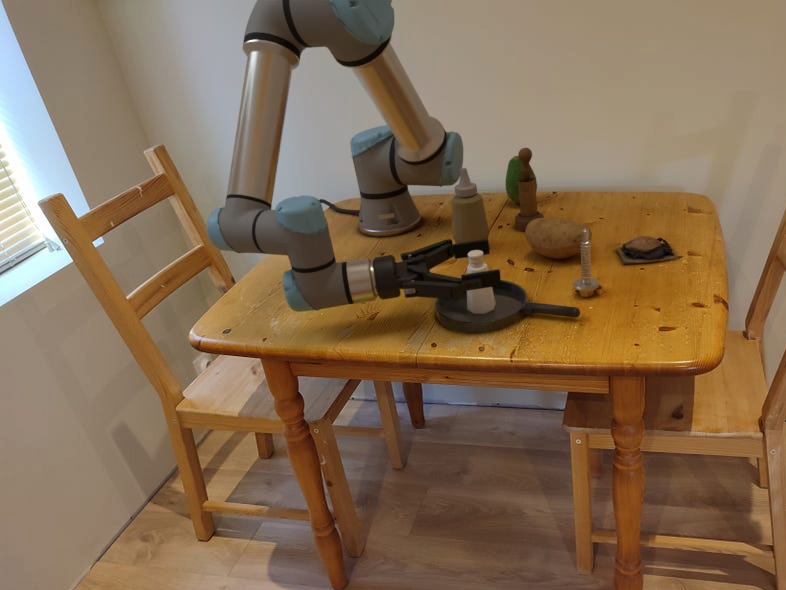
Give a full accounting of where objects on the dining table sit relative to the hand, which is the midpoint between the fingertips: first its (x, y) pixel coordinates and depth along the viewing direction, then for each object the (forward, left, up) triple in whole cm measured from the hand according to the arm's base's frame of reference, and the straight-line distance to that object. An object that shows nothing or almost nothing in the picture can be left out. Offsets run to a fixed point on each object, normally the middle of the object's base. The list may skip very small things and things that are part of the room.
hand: (494, 261), depth 116 cm
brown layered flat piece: (+21, +27, -9) cm, 36 cm away
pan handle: (+11, -2, -9) cm, 14 cm away
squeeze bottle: (-16, +23, -9) cm, 30 cm away
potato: (+4, +23, -9) cm, 25 cm away
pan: (-3, -2, -9) cm, 10 cm away
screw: (+14, +8, -9) cm, 19 cm away
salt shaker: (-3, -2, -9) cm, 10 cm away
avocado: (-15, +52, -9) cm, 55 cm away
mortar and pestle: (-8, +38, -9) cm, 40 cm away
